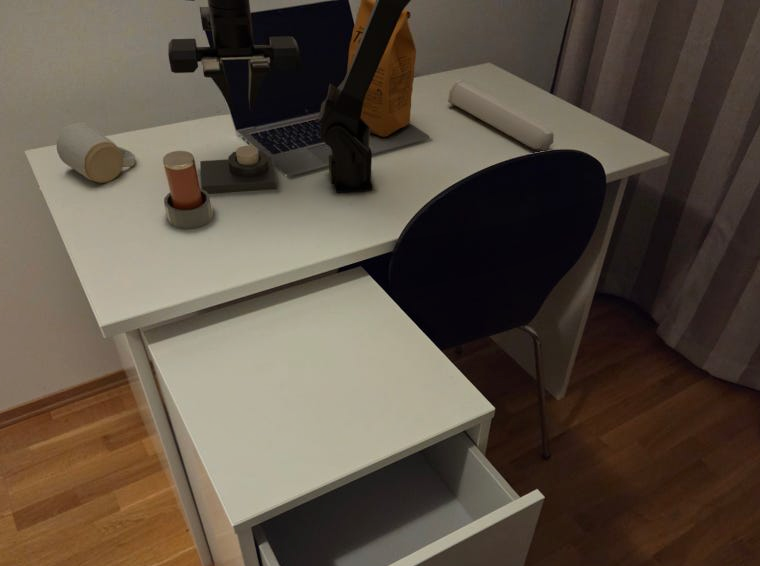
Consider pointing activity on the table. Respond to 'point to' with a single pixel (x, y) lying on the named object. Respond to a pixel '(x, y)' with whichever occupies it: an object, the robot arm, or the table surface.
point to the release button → (247, 155)
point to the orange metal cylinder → (182, 180)
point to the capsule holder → (189, 213)
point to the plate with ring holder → (237, 175)
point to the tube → (501, 116)
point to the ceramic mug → (92, 153)
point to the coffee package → (387, 75)
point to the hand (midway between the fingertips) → (241, 109)
